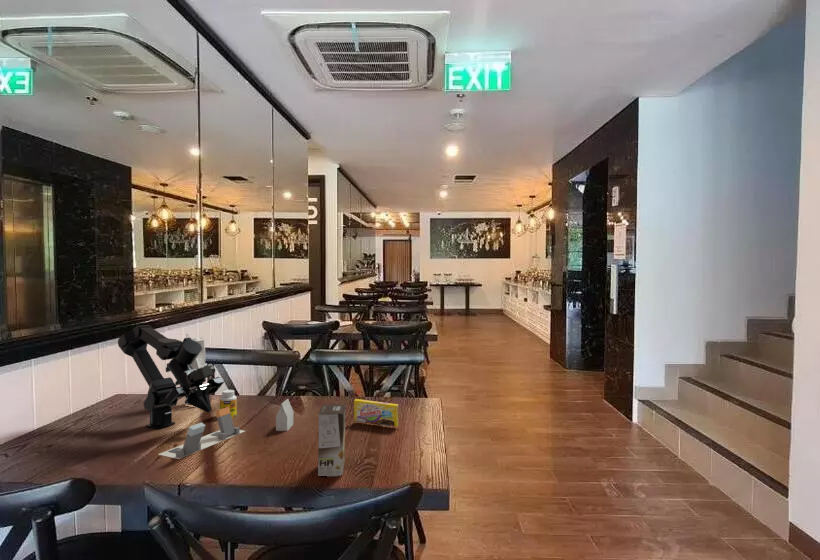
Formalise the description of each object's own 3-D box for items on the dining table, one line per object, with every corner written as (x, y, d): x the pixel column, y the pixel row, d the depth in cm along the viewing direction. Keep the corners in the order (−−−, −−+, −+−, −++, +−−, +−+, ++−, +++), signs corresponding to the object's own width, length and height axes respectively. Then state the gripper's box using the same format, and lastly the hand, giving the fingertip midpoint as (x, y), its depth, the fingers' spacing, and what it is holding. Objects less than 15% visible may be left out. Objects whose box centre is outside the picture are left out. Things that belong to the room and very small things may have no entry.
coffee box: (343, 476, 118) (343, 413, 118) (317, 477, 118) (318, 413, 118) (345, 462, 127) (345, 403, 127) (321, 462, 127) (321, 404, 127)
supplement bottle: (221, 423, 160) (221, 393, 160) (218, 419, 164) (218, 390, 164) (238, 420, 163) (238, 391, 163) (234, 416, 168) (234, 388, 167)
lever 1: (180, 452, 127) (189, 426, 126) (193, 447, 131) (201, 422, 130) (184, 455, 127) (193, 429, 125) (197, 450, 130) (205, 425, 129)
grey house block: (293, 428, 155) (293, 398, 155) (287, 435, 148) (287, 404, 148) (282, 428, 155) (282, 398, 155) (275, 435, 148) (276, 404, 148)
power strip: (157, 459, 128) (157, 447, 128) (226, 432, 151) (226, 422, 151) (179, 464, 125) (179, 452, 125) (245, 435, 148) (245, 425, 148)
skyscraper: (178, 407, 180) (178, 334, 180) (191, 401, 188) (191, 332, 188) (197, 408, 179) (198, 335, 178) (210, 402, 187) (210, 333, 186)
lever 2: (221, 437, 141) (214, 411, 142) (231, 433, 145) (225, 407, 146) (225, 436, 140) (218, 410, 142) (235, 432, 144) (228, 406, 145)
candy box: (353, 423, 161) (353, 400, 161) (356, 422, 163) (356, 398, 163) (396, 430, 155) (396, 405, 155) (398, 428, 157) (399, 403, 157)
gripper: (172, 361, 139) (199, 402, 135) (220, 352, 156) (245, 388, 152) (153, 385, 142) (179, 426, 138) (202, 374, 159) (226, 410, 155)
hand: (209, 411), depth 146 cm, fingers closed
